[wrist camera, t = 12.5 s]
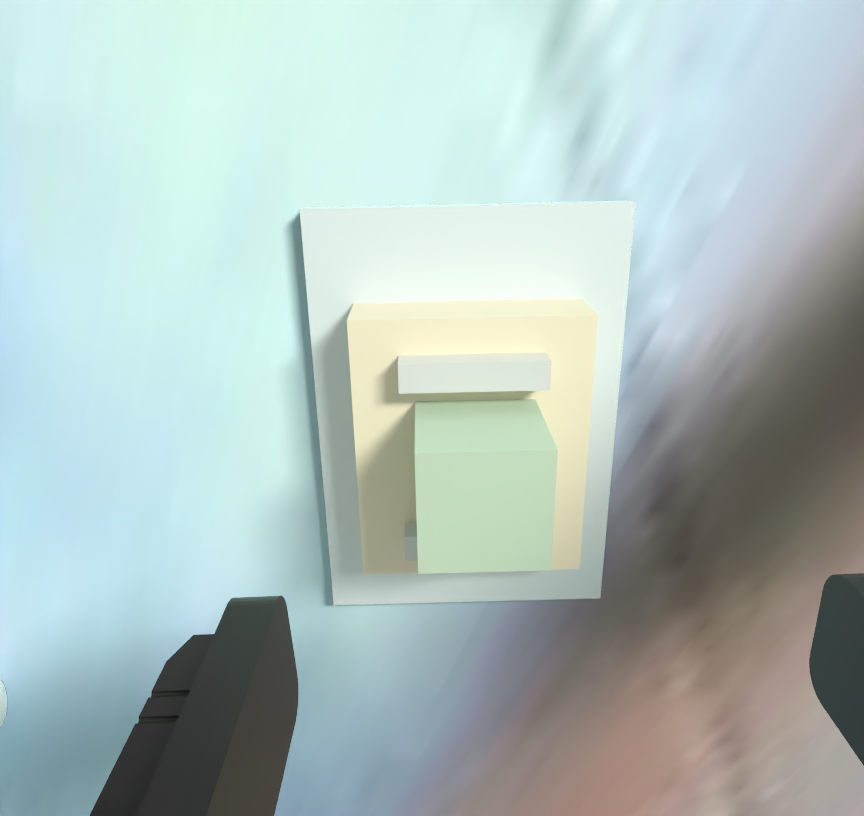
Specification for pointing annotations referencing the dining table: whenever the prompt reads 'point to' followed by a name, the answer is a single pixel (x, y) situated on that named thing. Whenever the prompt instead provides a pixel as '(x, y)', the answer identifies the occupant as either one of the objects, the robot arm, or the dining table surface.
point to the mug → (2, 702)
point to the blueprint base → (463, 372)
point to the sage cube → (484, 486)
